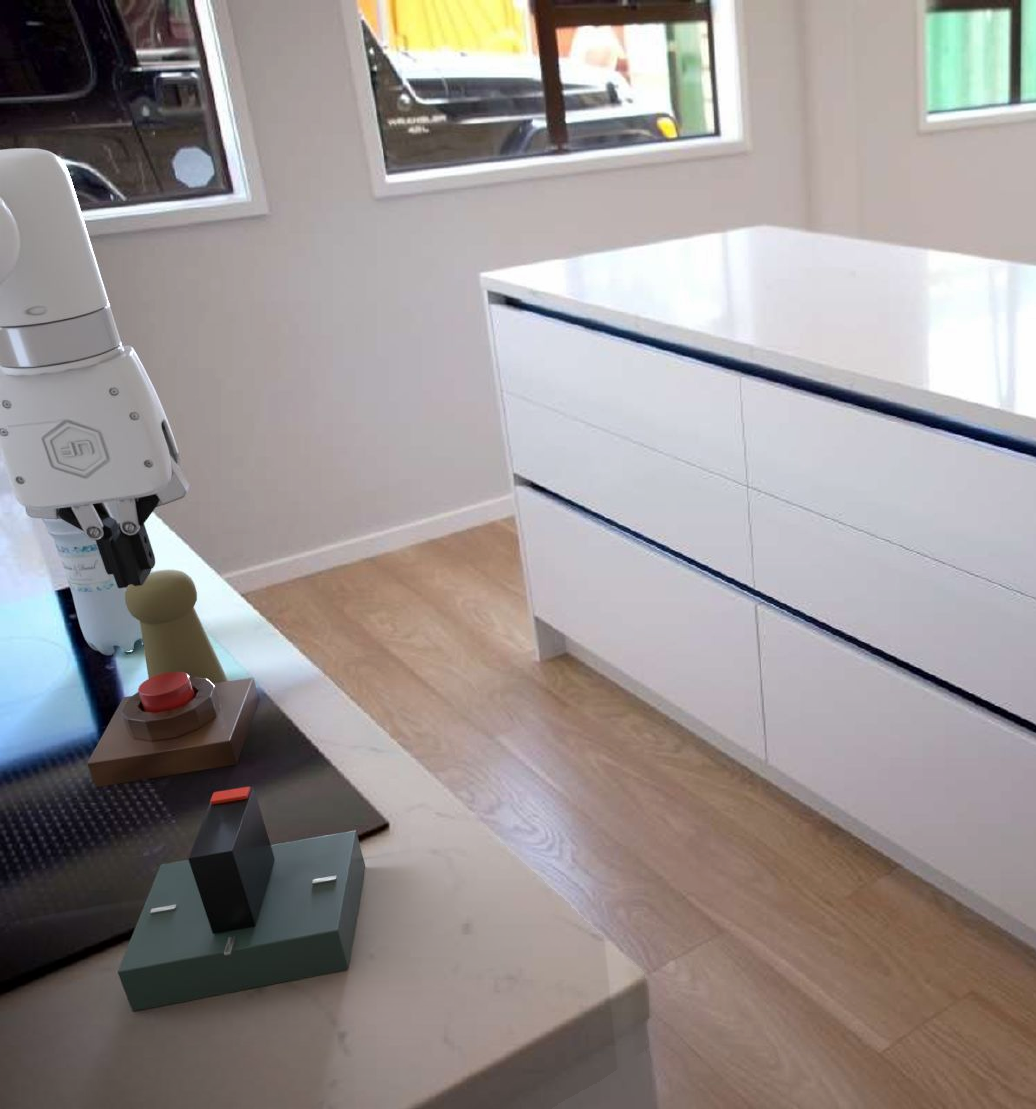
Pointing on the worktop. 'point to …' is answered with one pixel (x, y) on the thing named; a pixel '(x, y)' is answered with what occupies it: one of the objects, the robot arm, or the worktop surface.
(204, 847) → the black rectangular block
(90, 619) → the bottle
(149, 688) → the release button
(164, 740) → the brown block
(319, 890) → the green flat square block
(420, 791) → the worktop surface
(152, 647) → the olive pawn
